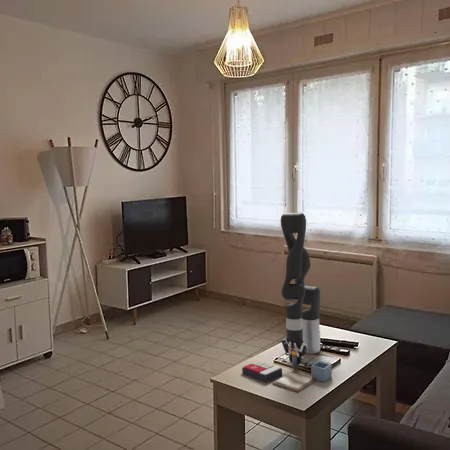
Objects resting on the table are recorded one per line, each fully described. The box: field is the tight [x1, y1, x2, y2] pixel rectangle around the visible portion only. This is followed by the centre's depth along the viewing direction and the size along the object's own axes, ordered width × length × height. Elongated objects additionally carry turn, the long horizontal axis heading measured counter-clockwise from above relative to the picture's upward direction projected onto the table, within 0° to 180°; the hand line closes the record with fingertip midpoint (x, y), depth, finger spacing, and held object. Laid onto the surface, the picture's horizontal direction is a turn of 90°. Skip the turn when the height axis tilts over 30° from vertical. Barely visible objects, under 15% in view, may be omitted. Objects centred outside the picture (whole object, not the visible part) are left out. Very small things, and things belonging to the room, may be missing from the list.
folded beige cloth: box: [272, 371, 317, 393], centre depth 216 cm, size 14×13×1 cm
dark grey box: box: [241, 360, 283, 384], centre depth 226 cm, size 11×4×15 cm
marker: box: [291, 349, 300, 370], centre depth 228 cm, size 3×3×8 cm
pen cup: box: [310, 360, 332, 383], centre depth 219 cm, size 6×6×6 cm
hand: (295, 362), depth 229 cm, fingers closed on marker, 3 cm apart
